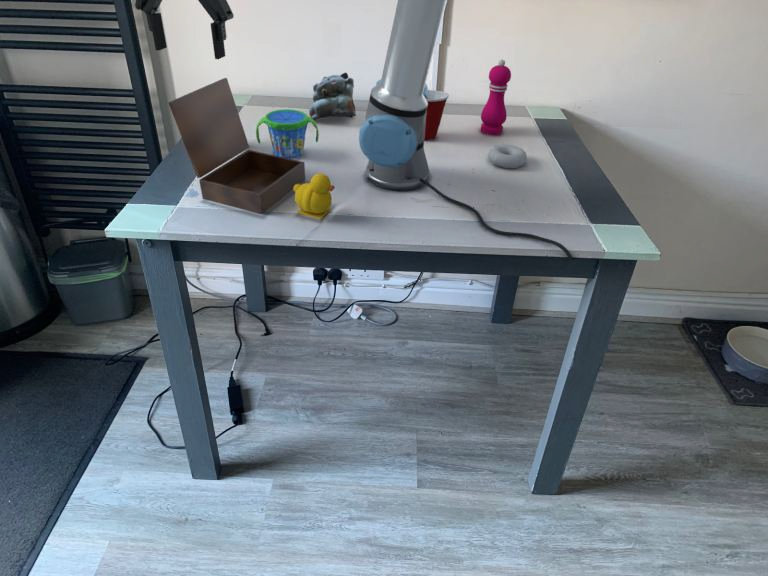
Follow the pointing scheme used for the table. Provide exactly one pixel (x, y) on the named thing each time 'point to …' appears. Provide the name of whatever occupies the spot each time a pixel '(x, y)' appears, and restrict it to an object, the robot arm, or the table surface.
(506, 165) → the donut
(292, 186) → the chest
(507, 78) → the pepper mill
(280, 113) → the snack cup
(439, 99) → the plastic cup
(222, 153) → the lid
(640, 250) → the table surface
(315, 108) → the lucky cat figurine
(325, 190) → the duck
